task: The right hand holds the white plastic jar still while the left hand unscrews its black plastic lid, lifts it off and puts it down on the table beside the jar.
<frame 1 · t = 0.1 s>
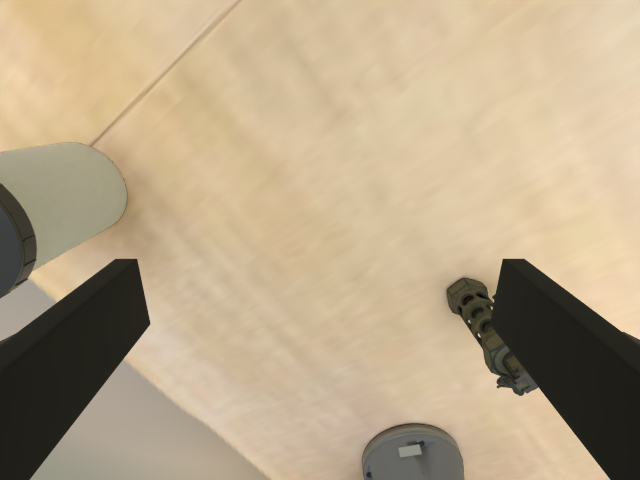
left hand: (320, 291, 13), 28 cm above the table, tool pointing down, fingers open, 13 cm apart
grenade: (474, 292, 45), on the table
jar: (81, 188, 40), on the table
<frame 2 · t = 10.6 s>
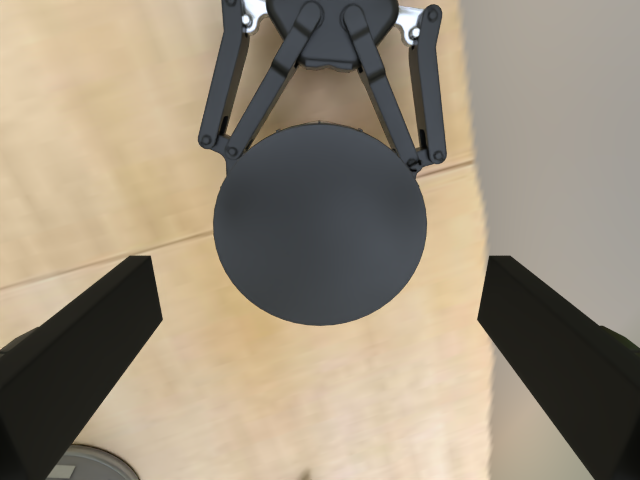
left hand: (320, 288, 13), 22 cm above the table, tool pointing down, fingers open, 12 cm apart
right hand: (316, 244, 29), fingers closed on jar, 10 cm apart
lid: (320, 233, 19), point 16 cm above the table, screwed on, not yet turned
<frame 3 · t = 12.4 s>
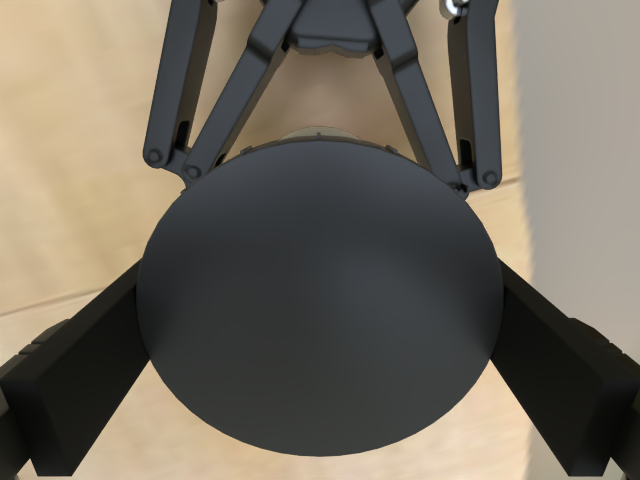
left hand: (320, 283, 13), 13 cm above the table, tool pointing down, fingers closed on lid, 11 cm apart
lid: (319, 321, 11), point 16 cm above the table, screwed on, not yet turned, touching left hand
jar: (319, 199, 26), on the table, touching right hand
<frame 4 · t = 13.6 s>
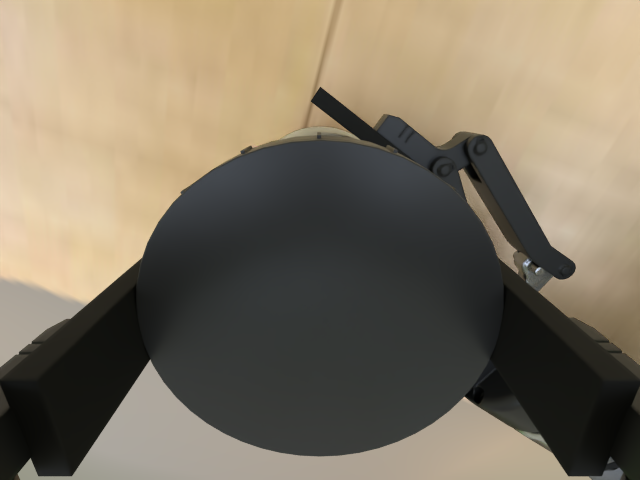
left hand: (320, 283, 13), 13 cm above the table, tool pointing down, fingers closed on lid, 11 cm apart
lid: (320, 321, 11), point 16 cm above the table, off its thread, touching left hand
jar: (320, 198, 26), on the table, touching right hand
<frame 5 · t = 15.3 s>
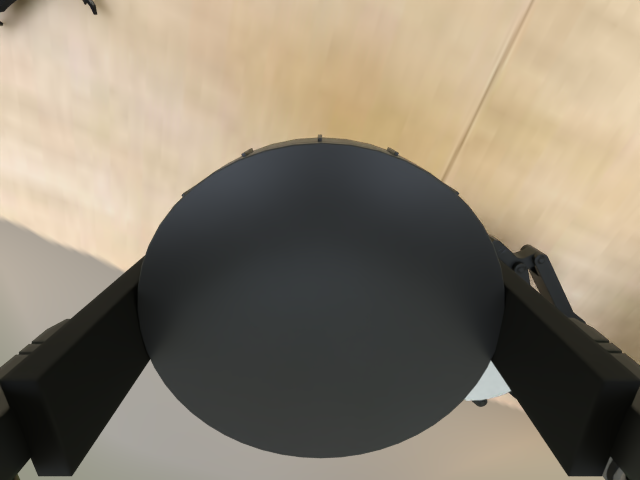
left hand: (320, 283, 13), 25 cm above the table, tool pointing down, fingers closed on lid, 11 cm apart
lid: (321, 323, 11), point 27 cm above the table, off its thread, touching left hand
jar: (423, 264, 40), on the table, touching right hand
when the left hand's fingers open (0 cm above the table, at t = 19.2 s): lid drops 1 cm, point 1 cm above the table.
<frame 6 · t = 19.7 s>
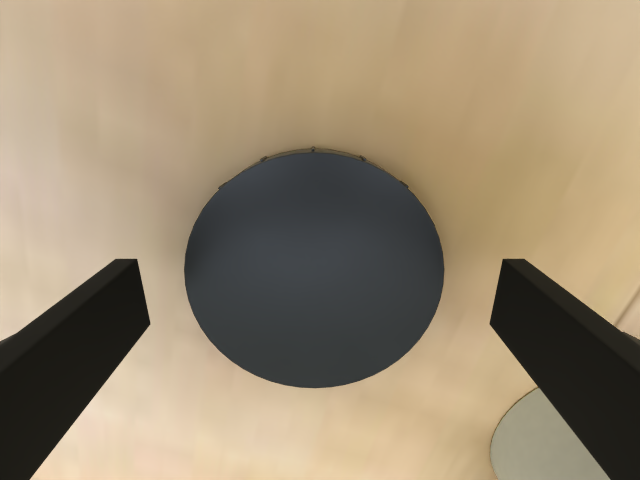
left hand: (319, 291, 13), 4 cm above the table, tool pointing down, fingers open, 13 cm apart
lid: (314, 281, 15), point 1 cm above the table, off its thread
jar: (577, 441, 20), on the table, touching right hand
when the right hand's fingers open (7 cm above the table, at t = 20.2 s): jar stays where it is, on the table.
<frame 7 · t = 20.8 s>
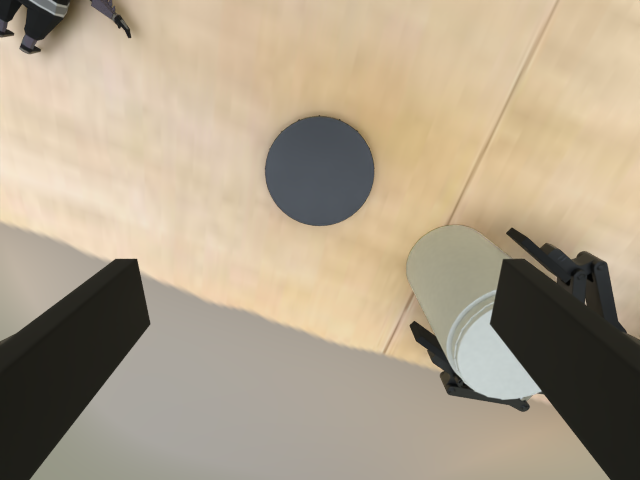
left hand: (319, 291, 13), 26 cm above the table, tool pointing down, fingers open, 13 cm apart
lid: (319, 173, 36), point 1 cm above the table, off its thread
jar: (449, 265, 41), on the table
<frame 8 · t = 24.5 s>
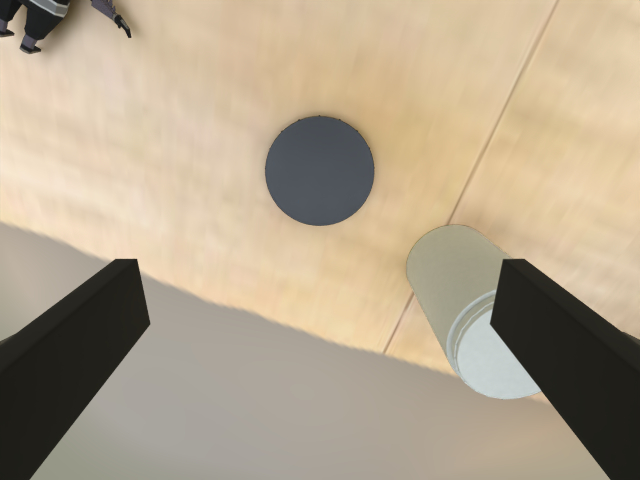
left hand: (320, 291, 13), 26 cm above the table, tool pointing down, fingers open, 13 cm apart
lid: (319, 173, 36), point 1 cm above the table, off its thread
jar: (449, 265, 41), on the table
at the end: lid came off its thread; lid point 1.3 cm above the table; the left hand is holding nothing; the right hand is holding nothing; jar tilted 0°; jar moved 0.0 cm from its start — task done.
